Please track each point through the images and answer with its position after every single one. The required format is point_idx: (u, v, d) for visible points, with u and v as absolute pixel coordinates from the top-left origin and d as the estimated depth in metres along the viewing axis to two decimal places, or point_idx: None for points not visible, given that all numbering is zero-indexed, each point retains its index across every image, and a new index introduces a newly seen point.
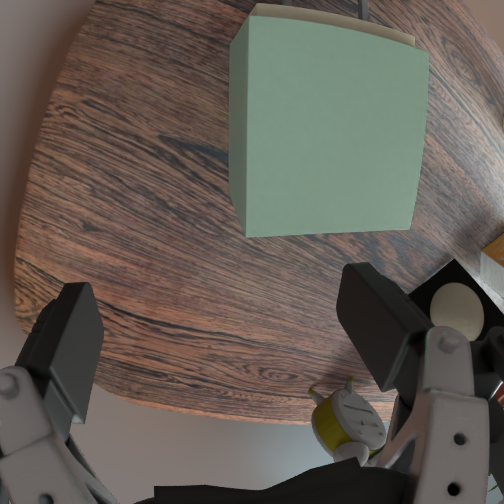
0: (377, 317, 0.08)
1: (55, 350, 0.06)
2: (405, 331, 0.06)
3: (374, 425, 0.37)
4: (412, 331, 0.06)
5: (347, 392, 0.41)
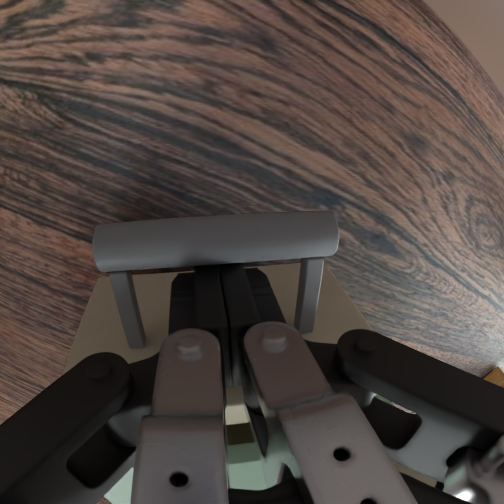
0: (225, 308, 0.08)
1: (224, 311, 0.07)
2: (230, 323, 0.07)
3: None
4: (237, 324, 0.07)
5: None
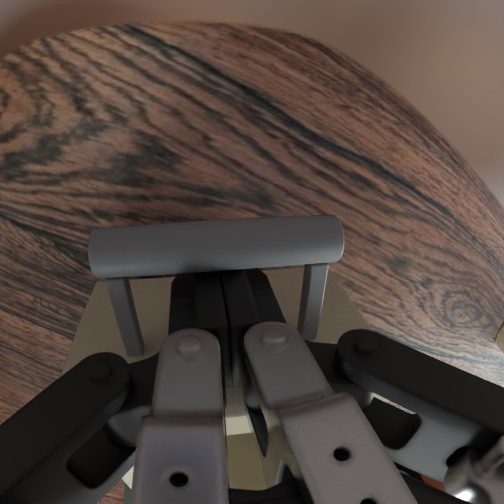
0: (225, 308, 0.08)
1: (225, 311, 0.07)
2: (230, 323, 0.07)
3: None
4: (237, 324, 0.07)
5: None
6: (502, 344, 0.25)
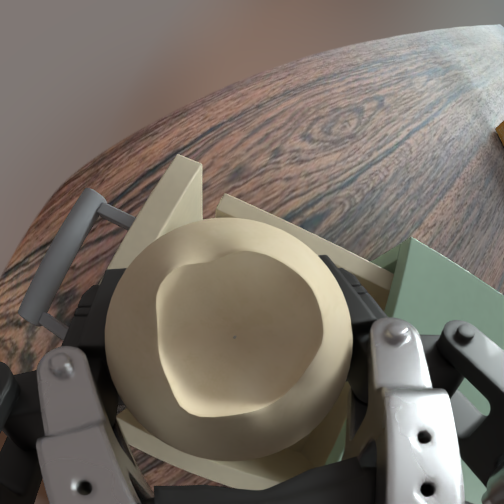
0: None
1: None
2: None
3: None
4: (357, 321, 0.07)
5: None
6: None
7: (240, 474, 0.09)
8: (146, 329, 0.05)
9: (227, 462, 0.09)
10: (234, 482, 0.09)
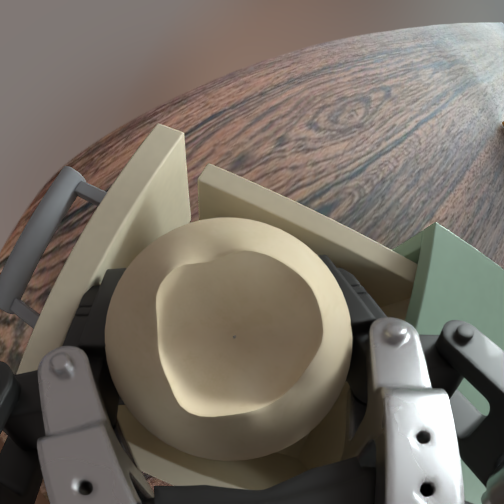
0: None
1: None
2: None
3: None
4: (356, 321, 0.07)
5: None
6: None
7: (222, 485, 0.07)
8: (146, 329, 0.05)
9: (208, 471, 0.08)
10: None
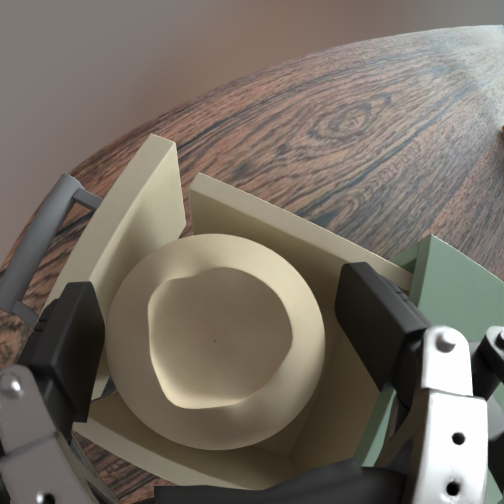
0: (375, 316, 0.08)
1: (57, 349, 0.06)
2: (402, 330, 0.06)
3: None
4: (409, 330, 0.06)
5: None
6: None
7: (210, 480, 0.08)
8: (140, 334, 0.06)
9: (196, 465, 0.08)
10: None
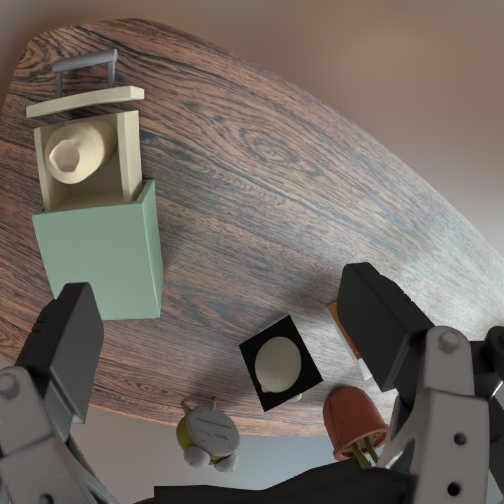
0: (377, 317, 0.08)
1: (55, 350, 0.06)
2: (405, 331, 0.06)
3: (225, 438, 0.50)
4: (412, 331, 0.06)
5: (208, 408, 0.54)
6: None
7: (43, 173, 0.25)
8: (58, 141, 0.22)
9: (46, 167, 0.26)
10: (40, 173, 0.25)
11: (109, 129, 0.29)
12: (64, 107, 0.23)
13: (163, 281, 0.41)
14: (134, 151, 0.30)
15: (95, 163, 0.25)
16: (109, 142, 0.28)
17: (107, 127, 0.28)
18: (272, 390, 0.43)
